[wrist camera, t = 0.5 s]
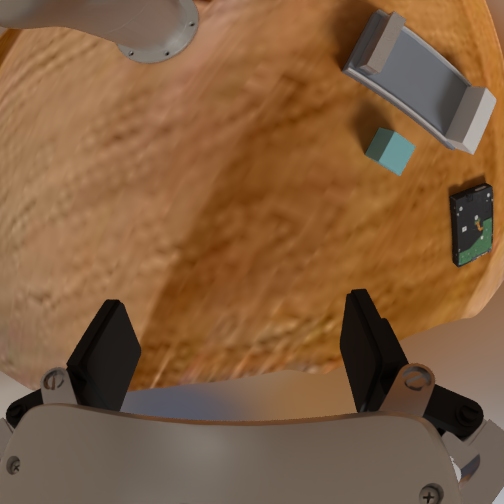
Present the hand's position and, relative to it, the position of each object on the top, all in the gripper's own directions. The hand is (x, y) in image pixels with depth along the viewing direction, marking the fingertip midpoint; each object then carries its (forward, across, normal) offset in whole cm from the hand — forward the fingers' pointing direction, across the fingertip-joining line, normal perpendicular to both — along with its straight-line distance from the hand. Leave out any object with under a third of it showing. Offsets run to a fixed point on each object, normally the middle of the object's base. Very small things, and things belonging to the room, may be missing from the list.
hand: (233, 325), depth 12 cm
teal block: (+34, -20, -3) cm, 39 cm away
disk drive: (+35, -42, +11) cm, 56 cm away
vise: (+34, -26, -14) cm, 45 cm away
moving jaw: (+31, -19, -18) cm, 41 cm away
